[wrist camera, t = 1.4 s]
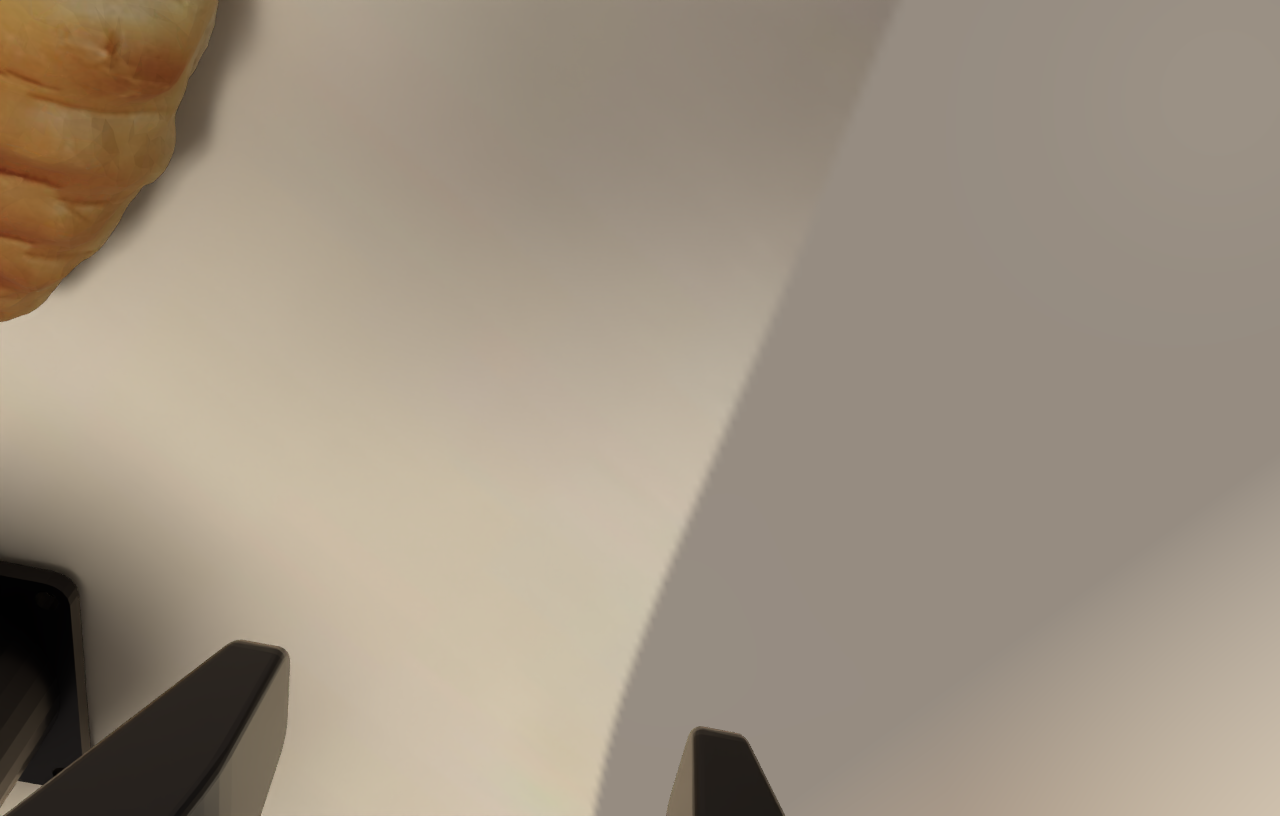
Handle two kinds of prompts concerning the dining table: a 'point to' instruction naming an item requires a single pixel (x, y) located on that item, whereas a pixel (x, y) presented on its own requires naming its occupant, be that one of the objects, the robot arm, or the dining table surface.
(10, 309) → the pastry
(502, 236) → the dining table surface
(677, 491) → the dining table surface
